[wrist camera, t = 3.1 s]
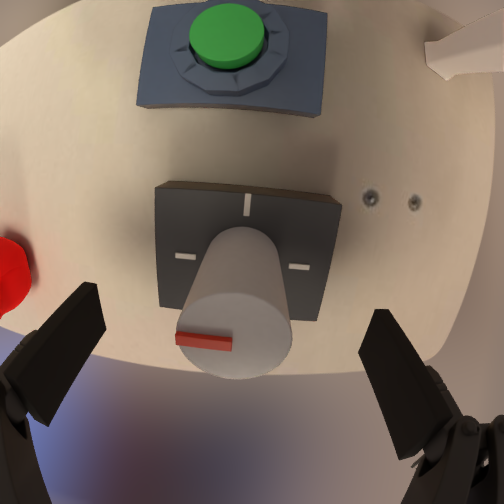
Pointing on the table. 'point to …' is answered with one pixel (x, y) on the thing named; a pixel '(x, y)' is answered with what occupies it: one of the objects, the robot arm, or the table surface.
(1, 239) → the flower
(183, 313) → the dial
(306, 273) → the dial panel
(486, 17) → the perfume bottle
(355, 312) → the table surface
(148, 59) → the button block
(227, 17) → the button
